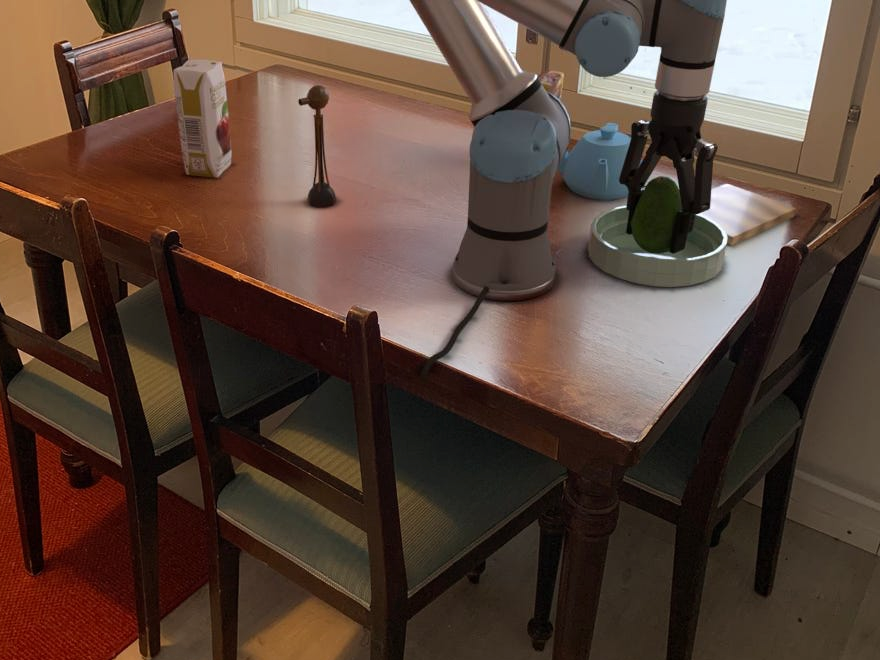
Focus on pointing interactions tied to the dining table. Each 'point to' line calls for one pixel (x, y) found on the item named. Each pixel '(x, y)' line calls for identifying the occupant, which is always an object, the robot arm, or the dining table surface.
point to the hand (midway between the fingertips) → (654, 240)
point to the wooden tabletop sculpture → (319, 150)
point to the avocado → (656, 215)
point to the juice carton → (203, 117)
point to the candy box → (552, 82)
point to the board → (745, 212)
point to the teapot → (597, 164)
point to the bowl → (664, 269)
